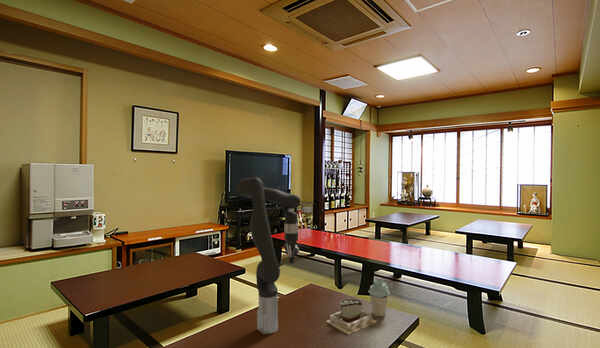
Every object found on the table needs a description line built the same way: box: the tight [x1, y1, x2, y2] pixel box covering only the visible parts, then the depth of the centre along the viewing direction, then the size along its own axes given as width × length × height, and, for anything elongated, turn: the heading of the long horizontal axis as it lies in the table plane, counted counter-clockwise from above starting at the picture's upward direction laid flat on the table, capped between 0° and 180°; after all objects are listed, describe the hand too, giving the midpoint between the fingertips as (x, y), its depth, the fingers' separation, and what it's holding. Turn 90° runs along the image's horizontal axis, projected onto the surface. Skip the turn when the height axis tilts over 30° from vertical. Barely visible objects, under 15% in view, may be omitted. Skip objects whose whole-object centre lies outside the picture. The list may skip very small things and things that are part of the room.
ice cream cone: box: [368, 277, 391, 317], centre depth 168 cm, size 10×11×20 cm
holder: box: [325, 309, 378, 335], centre depth 159 cm, size 20×16×4 cm
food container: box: [338, 297, 363, 323], centre depth 161 cm, size 12×6×10 cm, turn 105°
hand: (291, 262), depth 171 cm, fingers closed
